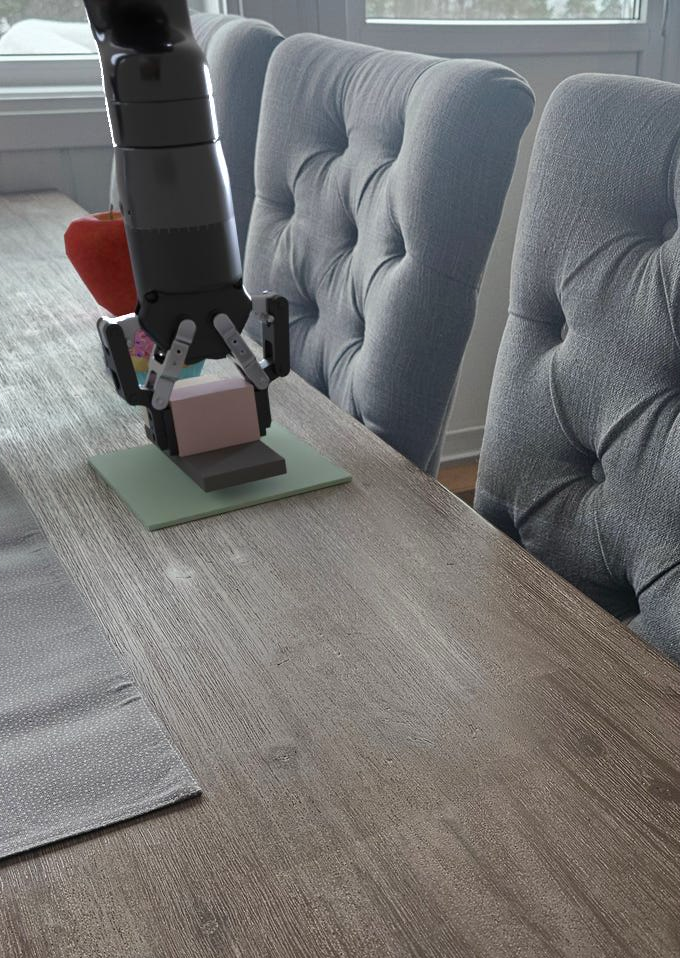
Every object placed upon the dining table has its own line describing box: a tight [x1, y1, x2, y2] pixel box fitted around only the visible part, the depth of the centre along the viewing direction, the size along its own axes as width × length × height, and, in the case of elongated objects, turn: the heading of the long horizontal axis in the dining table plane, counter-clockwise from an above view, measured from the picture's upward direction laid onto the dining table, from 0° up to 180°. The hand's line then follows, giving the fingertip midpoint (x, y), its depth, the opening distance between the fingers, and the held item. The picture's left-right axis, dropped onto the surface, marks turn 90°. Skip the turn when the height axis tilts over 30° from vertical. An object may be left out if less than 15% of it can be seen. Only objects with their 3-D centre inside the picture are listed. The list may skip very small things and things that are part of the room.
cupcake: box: [129, 329, 207, 385], centre depth 101 cm, size 9×8×12 cm
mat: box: [86, 419, 353, 532], centre depth 89 cm, size 16×16×1 cm
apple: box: [63, 202, 137, 318], centre depth 127 cm, size 11×11×12 cm
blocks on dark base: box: [140, 373, 287, 493], centre depth 86 cm, size 14×6×6 cm, turn 32°
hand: (215, 442), depth 86 cm, fingers closed on blocks on dark base, 6 cm apart
